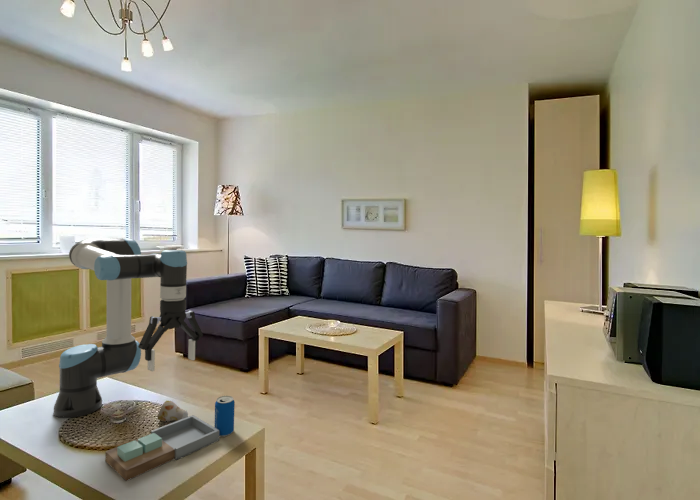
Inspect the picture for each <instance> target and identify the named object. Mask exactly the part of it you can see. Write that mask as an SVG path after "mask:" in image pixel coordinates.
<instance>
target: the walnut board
mask: <svg viewBox="0 0 700 500" xmlns="http://www.w3.org/2000/svg"><path fill="white" fill-rule="evenodd" d="M138 439H139V438H136V439H135V440H136V441H137V442H138ZM117 447H118V446H116V447H114V448H110V449H109V450H105V451H104V452H105V453H104V454H105V458H104V459H105V460H104V461H105V463H107V464H108V465H109V466H110V467H111V468H112V469H113V470H114V471H115V472H116V473H117V474H118V475H120V476H121V478H123V479H124V480H125V481H126V482H128V481H129V480H131V479H133V478H135V477H138V476H140V475H142V474H145V473H147V472H150V471H151V470H153V469H155V468H158V467H160V466H162V465H164V464H167V463H169V462H171V461H173V460H175V449H173V448H172V447H171V446H169V445H168V444H166V443H165V442H164V441H162V446H161V447H159V448H157V449H154V450H152V451H149V452H147V453H145V452H143V454H142V455H140V456H137V457H135V458H133V459H130V460H128V461H124V460H122V459H121V458H120V457H119V456H118V455H117Z"/></svg>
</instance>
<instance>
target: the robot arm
mask: <svg viewBox="0 0 700 500" xmlns="http://www.w3.org/2000/svg"><path fill="white" fill-rule="evenodd" d="M187 257H188V256H187V251H185V250H183V249H181V250H179V249H166V250H165V249H164V250H162V251H161V253H159V252H158V253H150V254H149V253H147V254H142V251H141V248H140V246H139V244H138V242H137V241H136V240H135V239H132V238H123V237H121V238H117V237H116V238H97V237H96V238H86V239H84V240H80V241H78V242H76V243H75V244H73V246H72V247H71V248H70V250H69V252H68V259H69V261H70V262H71V264H73V266H75V267H76V268H79V269H80V270H81V269H82V270H91V271H94V275H95V276H96V279H98V280H99V281H106V336H105V337H104V338H103V339H102V340H101V346H99V347H98V345H96V344H94V343H88V344H86V343H85V344H80V345H76V346H72V347H70V348H68V349H66V350H64V351H63V352H62V353H61V354H60V356H59V364H58V368H59V391H58V392H59V393H58V395H57V398H56V400H55V402H54V405H53V415H54V416H55V417H58V418H63V419H64V418H66V419H67V418H68V419H69V418H77V417H82V416H87V415H88V414H92V413H94V412H96V411H97V410H99V409H101V407H102V405H103V397H102V396H101V393H100V390H99V388H98V384H97V382H98V379H99V378H104V377H109V376H112V375H117V374H122V373H127V372H130V371H133V370H136V368H137V367H138V366H139V365H140V361H141V358H142V350H144V359H145V361H147V370H148V371H150V372H155V370H156V369H155V367H156V365H155V363H156V362H155V359H156V357H155V356H156V352H155V351H156V350H155V349H154V347H156V345H157V343H158V342H159V340H160V339H161V338H162V337H163V335H164V334H165V332H167V331H168V329H169V330H173V329H178V328H181V329H182V330H183V331H184V332H185V333H186V334H187V335H188V337H189V338H190V339H188V350H187V351H188V352H187V353H188V354H187V359H188V360H191V361H195V360H196V350H197V348H198V341H200V338H202V337H203V336H204V334H203V332H202V330H201V327H200V325H199V323H198V320H197V319H196V315H195V314H196V313H195V311H193V310H187V311H186V309H187V299H186V298H187V275H188V274H187V269H188V259H187ZM146 278H149V279H150V278H160V289H159V291H160V293H159V296H160V297H159V298H160V299H161V300H159V312H160V314H159V316H153V315H151V316H150V317H149V321H148V325H147V327H146V329H145V331H144V333H143V336H142V337H141V340H140V342H139V341H137V340H136V337H135V336H133V335H132V279H146ZM186 318H187V320H188V322H189V324H190V326H191V328H192V329H191V328H190V326H188V324H187V323H186V321H185V320H186ZM157 325H158V326H157ZM156 328H157V329H156Z"/></svg>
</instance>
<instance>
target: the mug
mask: <svg viewBox="0 0 700 500" xmlns="http://www.w3.org/2000/svg"><path fill="white" fill-rule="evenodd" d="M186 417H189V413H188V411H187V410H185V409H183V408H180V406H179V405H177V403H175V402H174V401H173V400H165V401H164V402H163V404H161V407H160V408H159V411H158V414H157V417H156V418H157V420H159V421H161V422H166V421H167V422H176V421H179V420H181V419H184V418H186ZM167 422H166V423H167Z"/></svg>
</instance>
